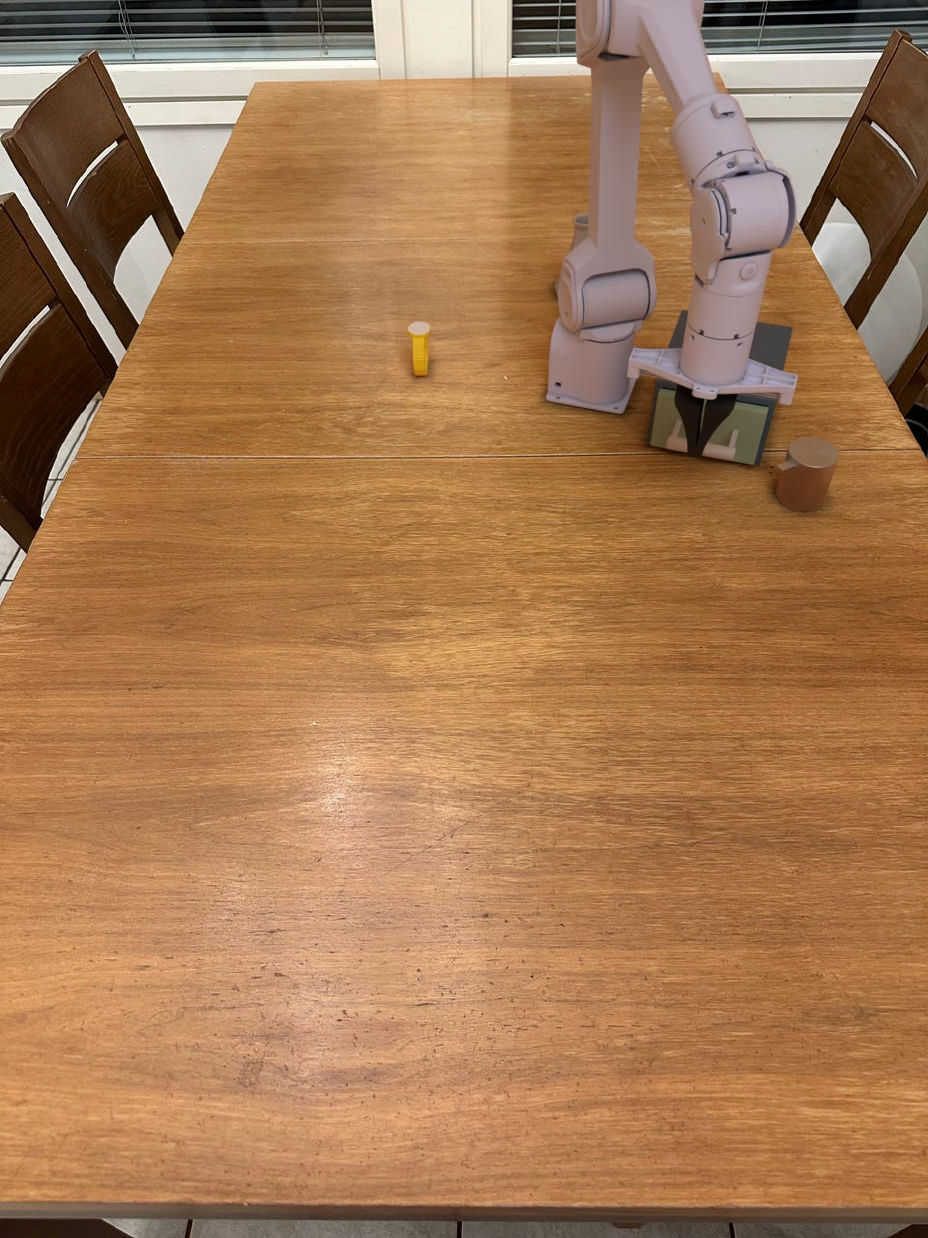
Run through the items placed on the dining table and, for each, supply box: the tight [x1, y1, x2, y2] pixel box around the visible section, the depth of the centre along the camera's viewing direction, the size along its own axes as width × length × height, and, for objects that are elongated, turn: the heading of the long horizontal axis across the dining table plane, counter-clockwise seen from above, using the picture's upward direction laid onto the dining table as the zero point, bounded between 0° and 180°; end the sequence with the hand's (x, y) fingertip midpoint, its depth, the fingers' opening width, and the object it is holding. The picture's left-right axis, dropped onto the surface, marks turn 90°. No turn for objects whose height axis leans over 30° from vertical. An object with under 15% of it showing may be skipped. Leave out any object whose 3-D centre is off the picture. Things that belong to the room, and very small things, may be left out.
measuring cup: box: [774, 435, 840, 513], centre depth 98 cm, size 7×5×6 cm
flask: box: [553, 212, 589, 297], centre depth 126 cm, size 7×7×10 cm
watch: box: [407, 321, 432, 377], centre depth 116 cm, size 6×3×6 cm, turn 178°
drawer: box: [649, 388, 769, 466], centre depth 104 cm, size 18×11×7 cm, turn 161°
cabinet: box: [646, 309, 794, 467], centre depth 107 cm, size 15×13×9 cm
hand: (696, 449), depth 90 cm, fingers closed
